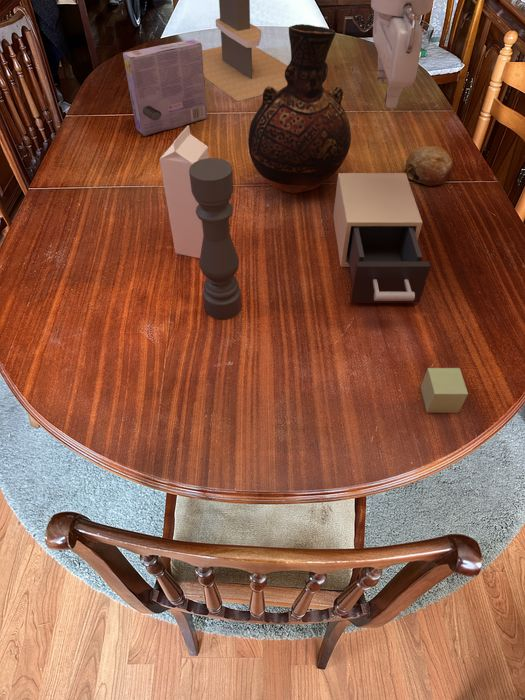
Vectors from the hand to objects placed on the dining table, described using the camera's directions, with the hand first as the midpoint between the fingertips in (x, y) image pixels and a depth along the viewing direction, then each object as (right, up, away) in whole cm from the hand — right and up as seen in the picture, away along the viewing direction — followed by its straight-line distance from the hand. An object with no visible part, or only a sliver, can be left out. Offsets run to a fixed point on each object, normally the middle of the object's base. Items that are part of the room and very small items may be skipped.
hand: (386, 93), depth 84 cm
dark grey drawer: (0, -31, +4) cm, 31 cm away
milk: (-33, -23, +12) cm, 42 cm away
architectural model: (-27, +42, +68) cm, 84 cm away
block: (+5, -50, -11) cm, 51 cm away
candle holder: (-27, -35, +1) cm, 45 cm away
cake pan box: (-43, +15, +45) cm, 64 cm away
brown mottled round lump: (+16, -4, +29) cm, 33 cm away
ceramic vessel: (-13, -7, +26) cm, 30 cm away
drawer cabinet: (0, -22, +13) cm, 25 cm away
